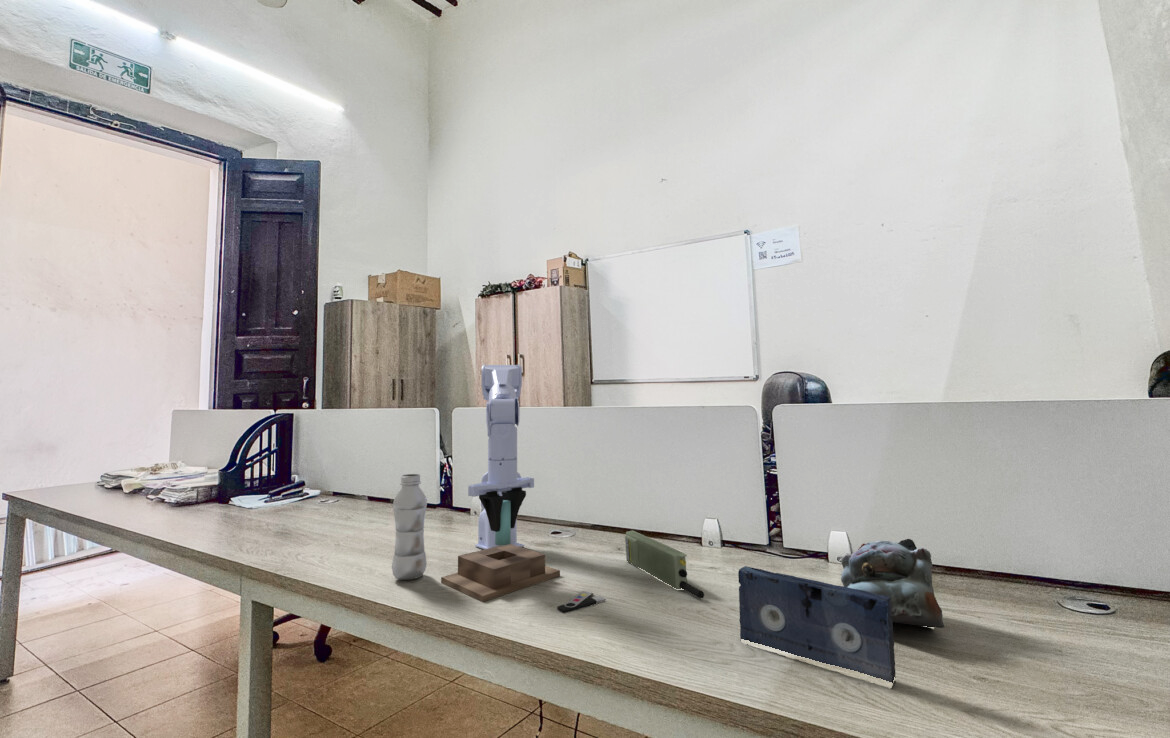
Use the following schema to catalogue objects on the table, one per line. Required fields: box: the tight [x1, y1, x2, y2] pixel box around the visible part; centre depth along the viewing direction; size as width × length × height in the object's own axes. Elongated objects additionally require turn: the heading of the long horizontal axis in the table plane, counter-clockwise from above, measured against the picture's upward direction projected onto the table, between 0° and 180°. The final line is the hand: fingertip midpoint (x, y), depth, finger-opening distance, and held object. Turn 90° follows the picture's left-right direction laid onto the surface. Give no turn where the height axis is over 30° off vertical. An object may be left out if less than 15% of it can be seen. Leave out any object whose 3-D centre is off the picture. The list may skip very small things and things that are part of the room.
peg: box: [495, 500, 511, 546], centre depth 96 cm, size 3×3×8 cm
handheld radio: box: [624, 530, 705, 600], centre depth 95 cm, size 7×3×25 cm
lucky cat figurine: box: [840, 538, 945, 629], centre depth 75 cm, size 15×12×14 cm
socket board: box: [440, 544, 561, 603], centre depth 95 cm, size 14×18×4 cm
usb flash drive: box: [556, 590, 607, 614], centre depth 83 cm, size 9×5×1 cm, turn 124°
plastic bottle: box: [391, 473, 428, 581], centre depth 97 cm, size 6×7×20 cm
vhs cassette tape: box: [737, 565, 896, 683], centre depth 64 cm, size 18×3×10 cm, turn 48°
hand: (502, 529), depth 96 cm, fingers closed on peg, 3 cm apart
